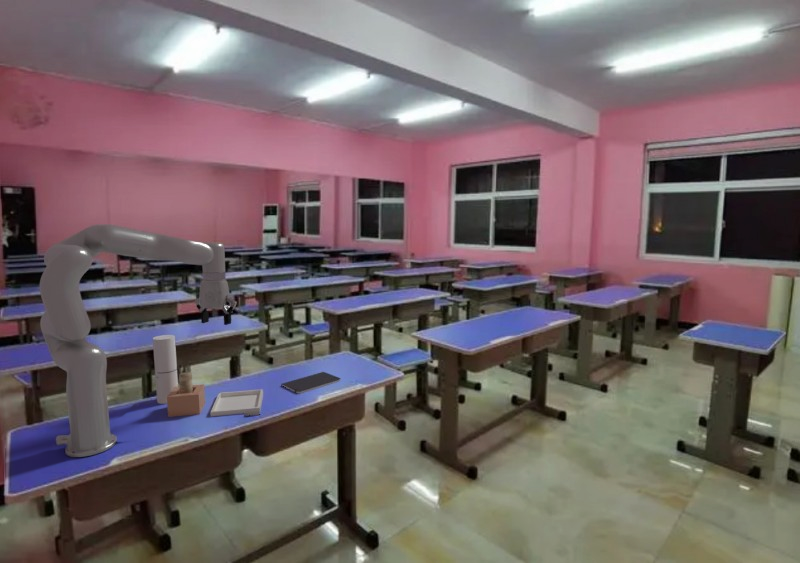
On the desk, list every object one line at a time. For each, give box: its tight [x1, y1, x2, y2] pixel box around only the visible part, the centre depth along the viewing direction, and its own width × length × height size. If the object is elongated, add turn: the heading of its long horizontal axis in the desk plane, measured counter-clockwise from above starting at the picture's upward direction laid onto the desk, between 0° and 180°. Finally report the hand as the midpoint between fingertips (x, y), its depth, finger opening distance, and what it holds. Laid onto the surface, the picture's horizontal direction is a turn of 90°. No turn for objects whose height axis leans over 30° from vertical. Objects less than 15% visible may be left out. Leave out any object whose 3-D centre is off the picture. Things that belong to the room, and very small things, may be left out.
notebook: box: [281, 371, 341, 394], centre depth 184 cm, size 13×2×21 cm
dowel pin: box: [178, 371, 193, 394], centre depth 154 cm, size 4×4×13 cm
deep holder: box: [166, 384, 206, 418], centre depth 154 cm, size 10×10×8 cm
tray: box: [210, 388, 264, 417], centre depth 160 cm, size 16×18×2 cm
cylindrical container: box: [152, 334, 179, 405], centre depth 162 cm, size 7×7×25 cm
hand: (216, 323), depth 160 cm, fingers open, 9 cm apart
